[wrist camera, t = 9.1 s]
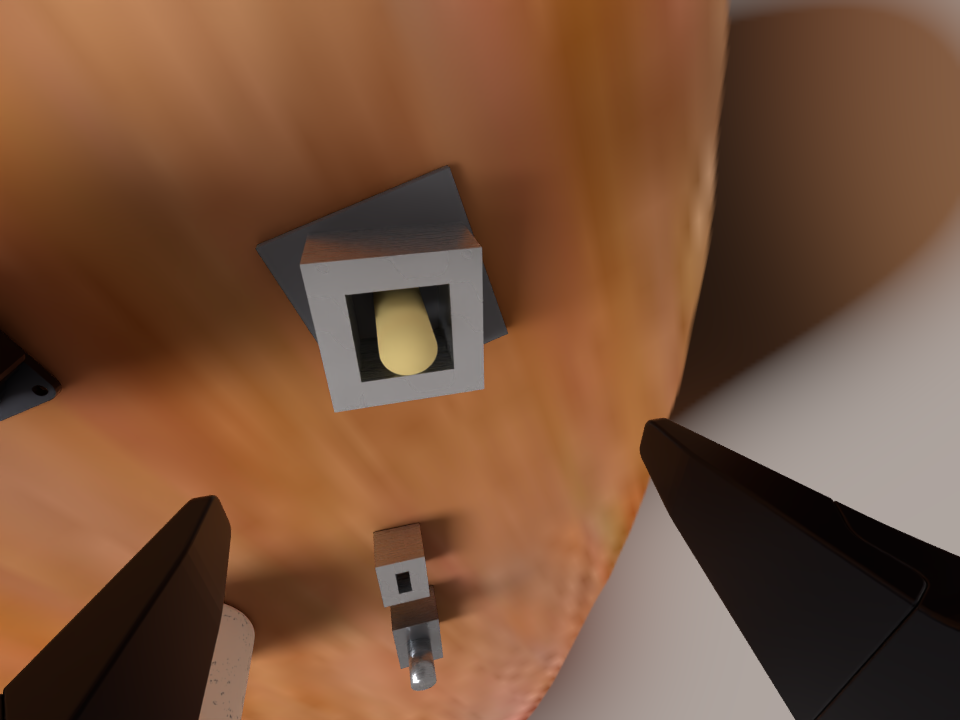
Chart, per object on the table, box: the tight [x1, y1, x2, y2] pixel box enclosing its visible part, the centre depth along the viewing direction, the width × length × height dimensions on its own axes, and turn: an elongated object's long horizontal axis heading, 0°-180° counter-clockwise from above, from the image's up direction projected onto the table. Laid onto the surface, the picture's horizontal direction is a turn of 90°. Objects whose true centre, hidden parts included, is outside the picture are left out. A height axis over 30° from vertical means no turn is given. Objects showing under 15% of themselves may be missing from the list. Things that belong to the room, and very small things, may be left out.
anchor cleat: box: [391, 586, 443, 691], centre depth 31 cm, size 5×3×5 cm, turn 1°
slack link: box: [373, 523, 430, 607], centre depth 28 cm, size 4×3×2 cm
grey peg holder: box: [255, 165, 508, 375], centre depth 18 cm, size 8×8×5 cm
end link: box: [300, 221, 484, 412], centre depth 18 cm, size 6×6×4 cm
